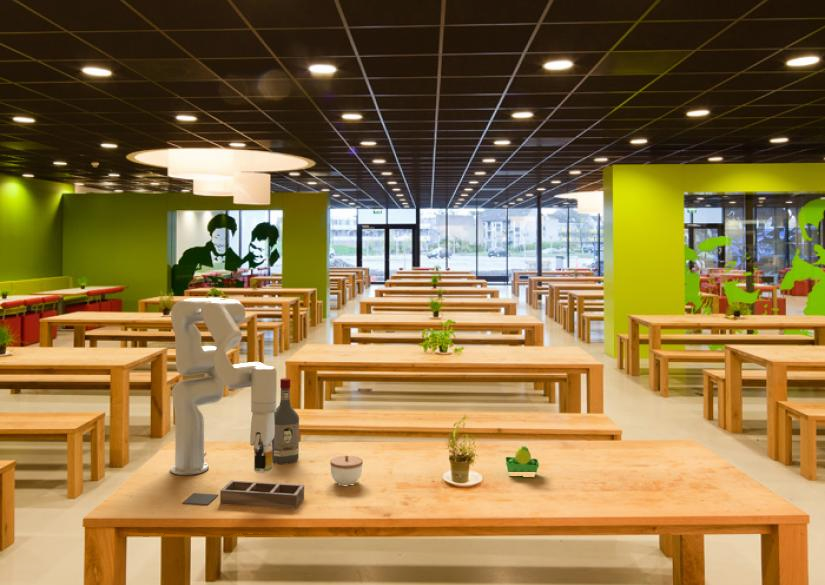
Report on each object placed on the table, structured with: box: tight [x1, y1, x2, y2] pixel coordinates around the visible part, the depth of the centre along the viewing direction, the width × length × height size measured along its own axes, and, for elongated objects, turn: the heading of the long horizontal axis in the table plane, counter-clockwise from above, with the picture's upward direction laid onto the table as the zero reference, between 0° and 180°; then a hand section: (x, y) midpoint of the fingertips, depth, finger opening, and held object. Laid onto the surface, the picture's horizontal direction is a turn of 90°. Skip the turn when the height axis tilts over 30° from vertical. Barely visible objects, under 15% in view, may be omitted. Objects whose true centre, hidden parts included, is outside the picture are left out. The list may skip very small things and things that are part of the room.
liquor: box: [272, 377, 300, 465], centre depth 247 cm, size 9×9×30 cm
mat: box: [182, 492, 219, 506], centre depth 207 cm, size 8×8×1 cm
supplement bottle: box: [253, 443, 273, 474], centre depth 207 cm, size 5×5×10 cm
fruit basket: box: [504, 445, 540, 473], centre depth 237 cm, size 11×9×11 cm
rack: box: [219, 480, 305, 510], centre depth 207 cm, size 9×24×4 cm, turn 84°
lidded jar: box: [329, 454, 364, 486], centre depth 225 cm, size 11×11×9 cm
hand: (263, 464), depth 207 cm, fingers closed on supplement bottle, 5 cm apart
